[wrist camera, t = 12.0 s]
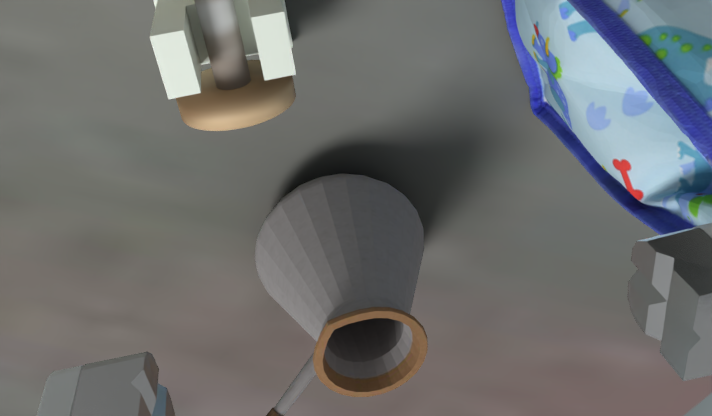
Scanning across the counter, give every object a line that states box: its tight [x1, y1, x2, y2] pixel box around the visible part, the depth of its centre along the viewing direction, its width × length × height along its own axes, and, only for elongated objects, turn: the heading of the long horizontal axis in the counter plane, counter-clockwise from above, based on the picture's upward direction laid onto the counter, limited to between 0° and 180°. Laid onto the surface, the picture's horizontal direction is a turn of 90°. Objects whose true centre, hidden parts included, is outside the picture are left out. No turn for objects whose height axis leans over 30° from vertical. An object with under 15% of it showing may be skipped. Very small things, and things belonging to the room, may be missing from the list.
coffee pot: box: [255, 174, 427, 416], centre depth 43 cm, size 21×12×15 cm, turn 132°
